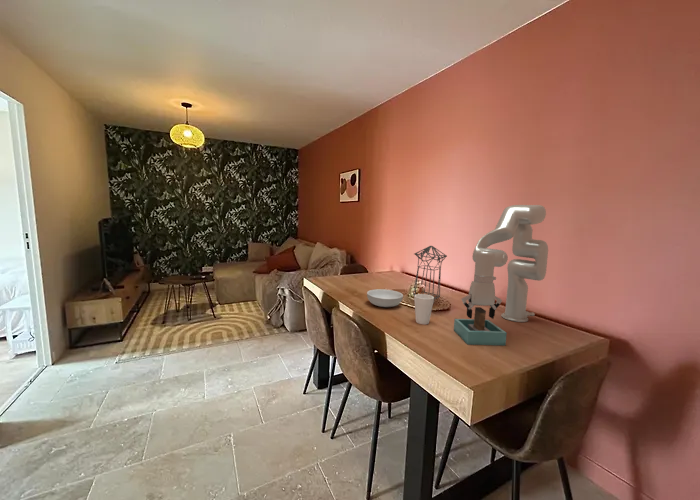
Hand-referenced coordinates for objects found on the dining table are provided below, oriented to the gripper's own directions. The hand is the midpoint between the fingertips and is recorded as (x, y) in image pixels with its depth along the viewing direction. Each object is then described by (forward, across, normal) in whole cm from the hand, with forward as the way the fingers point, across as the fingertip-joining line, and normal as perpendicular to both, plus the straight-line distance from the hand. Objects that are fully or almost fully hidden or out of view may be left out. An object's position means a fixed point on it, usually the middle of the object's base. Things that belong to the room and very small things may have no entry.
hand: (480, 317), depth 138 cm
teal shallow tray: (+9, 0, 0) cm, 9 cm away
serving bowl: (+9, +36, -46) cm, 59 cm away
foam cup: (+9, +20, -18) cm, 28 cm away
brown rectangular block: (+8, +1, +1) cm, 8 cm away
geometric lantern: (+10, +8, -53) cm, 54 cm away
